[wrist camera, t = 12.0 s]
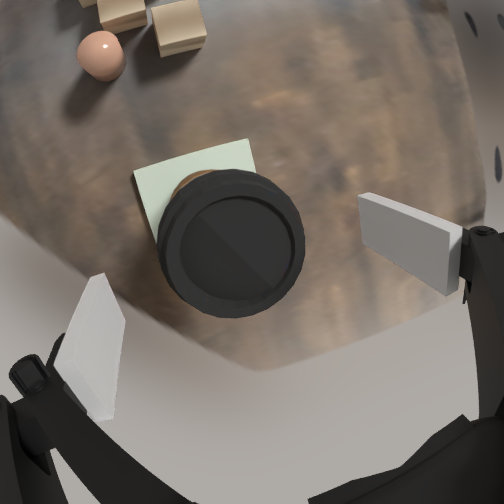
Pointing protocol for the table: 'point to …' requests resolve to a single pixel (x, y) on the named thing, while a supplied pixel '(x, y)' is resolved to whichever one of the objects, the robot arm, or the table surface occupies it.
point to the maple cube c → (178, 27)
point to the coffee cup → (230, 242)
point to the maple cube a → (87, 3)
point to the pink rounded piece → (102, 56)
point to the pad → (186, 174)
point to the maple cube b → (121, 15)
